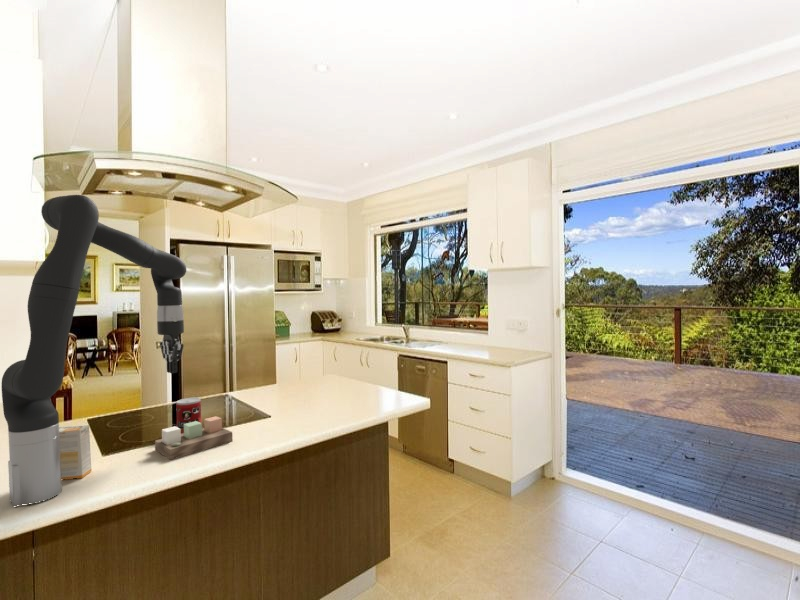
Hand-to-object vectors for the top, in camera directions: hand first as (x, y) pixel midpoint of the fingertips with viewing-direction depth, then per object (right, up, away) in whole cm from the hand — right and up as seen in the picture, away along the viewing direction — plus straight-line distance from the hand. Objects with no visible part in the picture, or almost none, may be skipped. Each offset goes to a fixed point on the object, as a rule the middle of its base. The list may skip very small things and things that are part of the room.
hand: (172, 372), depth 136 cm
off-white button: (+3, -20, -7) cm, 22 cm away
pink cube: (+12, -20, +3) cm, 23 cm away
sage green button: (+8, -20, -2) cm, 22 cm away
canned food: (0, -23, +12) cm, 26 cm away
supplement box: (-15, -24, -23) cm, 37 cm away
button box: (+9, -23, -2) cm, 25 cm away
